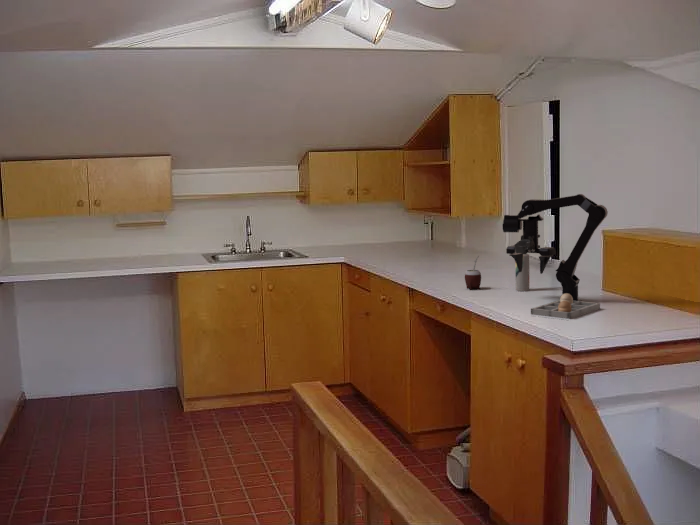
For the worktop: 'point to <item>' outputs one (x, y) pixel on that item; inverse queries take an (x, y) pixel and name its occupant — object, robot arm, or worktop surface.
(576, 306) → the grey egg tray
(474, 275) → the mate gourd
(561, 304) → the brown egg
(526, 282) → the lotion bottle
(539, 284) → the worktop surface
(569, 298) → the beige rounded cylinder
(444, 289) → the worktop surface
